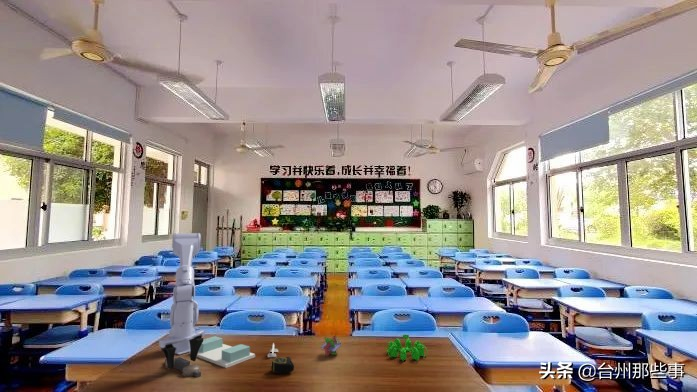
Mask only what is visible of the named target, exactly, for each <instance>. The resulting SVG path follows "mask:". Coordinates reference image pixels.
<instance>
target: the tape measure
mask: <svg viewBox="0 0 697 392" xmlns="http://www.w3.org/2000/svg"><path fill="white" fill-rule="evenodd" d="M272 360H273V361H272V364H271V366H270V367H271V371H272V373H274V374H278V375H284V374H288V373H291V372H294V370H295V364H294V363H293V361H292V358H291V357H290V356H285V357H284V356H280V357H279V356H278V357H274V359H272Z"/></svg>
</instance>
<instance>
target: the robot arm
mask: <svg viewBox="0 0 697 392" xmlns="http://www.w3.org/2000/svg"><path fill="white" fill-rule="evenodd" d="M201 235H202V234H201V233H200V232H198V233H197V232H194V233H193V232H190V233H189V232H188V233H185V232H184V233H176V232H174V233H173V234H172V240H171V241H172V242H171V243H172V244H171V245H172V247H171V248H172V253H173V255H175V256H177V257H178V258H179V267H178V268H177V269H176V271H175V286H174V287H173V291H172V293H173V295H172V301H173V303H172V304H171V306H170V313H169V325H170V327H171V328H170V329H169V331H168V337H166V338H164V339H160V340H159V341H158V342H159V343H158V347H159V348H160V349H161V351H162V353H163V355H164V357H165V359H166V360H167V365H168V368H167V369H170V370H172V369H173V370H174V368H173V367H174V358H175V355H184V354H186V353H189V355H190V357H189V358H190V360H189V361H190V362H191V361H192V362H196V361H197V358H198V357H197V354H198V351H199V348H200V346H201V344H202V343H203V339H204V337H205V334H206V333H205V331H206V330H204V329H199V330H195V326H196V325H195V324H198V323H199V310H200V309H199V303H198V301H196V300H195V299H196V287H195V269H194V268H193V259H194V257H195V256H197V255H198V254H200V251H201V250H200V249H201V240H202V239H201Z"/></svg>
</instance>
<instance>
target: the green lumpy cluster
mask: <svg viewBox="0 0 697 392" xmlns="http://www.w3.org/2000/svg"><path fill="white" fill-rule="evenodd" d="M402 338H404V341H405V342H404V345H405V347H403V346H402V343H401V340H400V339H399V338H395V339H394V341H388V342H386V345H385V351H386V352H387V354H388V356H389V358H391V359H392V358H397V357H398V355H400V360H401V362H404V361H405V360H407V359H408V358H407V352H409V353H410V355H411V358H412V360H415V361H416V362H417V361H419V360H420V357H423V358H424V357H426V356H427V354H428V349H427V347H426V346H425V345H424V344H423V342H422V341H420V340H416V341H415V342H414V343H413V345H412V342H411V340H410V335H409V334H403V335H402ZM387 345H388V346H387ZM387 347H388V349H387ZM425 350H426V353H425Z"/></svg>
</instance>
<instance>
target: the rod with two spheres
mask: <svg viewBox="0 0 697 392" xmlns="http://www.w3.org/2000/svg"><path fill="white" fill-rule="evenodd" d="M164 364H165V368H166V369H169V368H168V365H167V360H166V358H165V359H164ZM173 369H176V370H179V371H181V372H182V376H183V377H195V378H199V377H201V376H202V372H201V371H200V365H199V364H195V363H194V364H191V360H188V359H186V358H183V357H181V356H179V357H175V356H174V367H173Z"/></svg>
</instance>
